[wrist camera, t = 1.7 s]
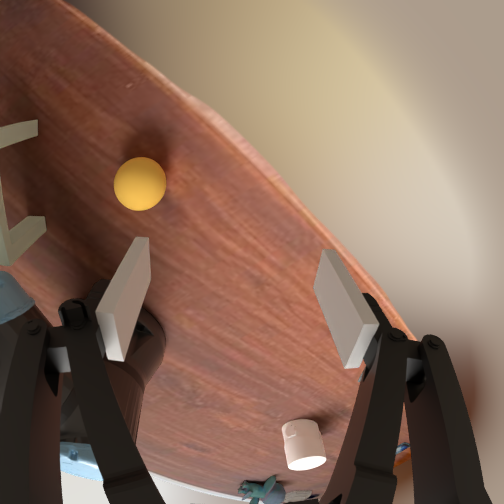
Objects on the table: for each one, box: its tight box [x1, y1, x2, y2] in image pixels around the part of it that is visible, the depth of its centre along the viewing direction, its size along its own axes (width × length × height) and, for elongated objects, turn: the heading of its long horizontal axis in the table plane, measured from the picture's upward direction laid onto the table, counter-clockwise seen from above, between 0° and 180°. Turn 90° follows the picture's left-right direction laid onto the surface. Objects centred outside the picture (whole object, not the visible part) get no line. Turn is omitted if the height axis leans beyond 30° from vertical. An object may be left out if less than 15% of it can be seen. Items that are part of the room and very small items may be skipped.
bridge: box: [0, 120, 47, 266], centre depth 26 cm, size 3×14×9 cm, turn 174°
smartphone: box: [396, 442, 410, 454], centre depth 77 cm, size 7×1×15 cm
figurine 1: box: [238, 476, 286, 504], centre depth 74 cm, size 20×9×15 cm
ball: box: [114, 157, 166, 211], centre depth 29 cm, size 6×6×6 cm
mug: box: [282, 419, 326, 470], centre depth 55 cm, size 12×9×8 cm
